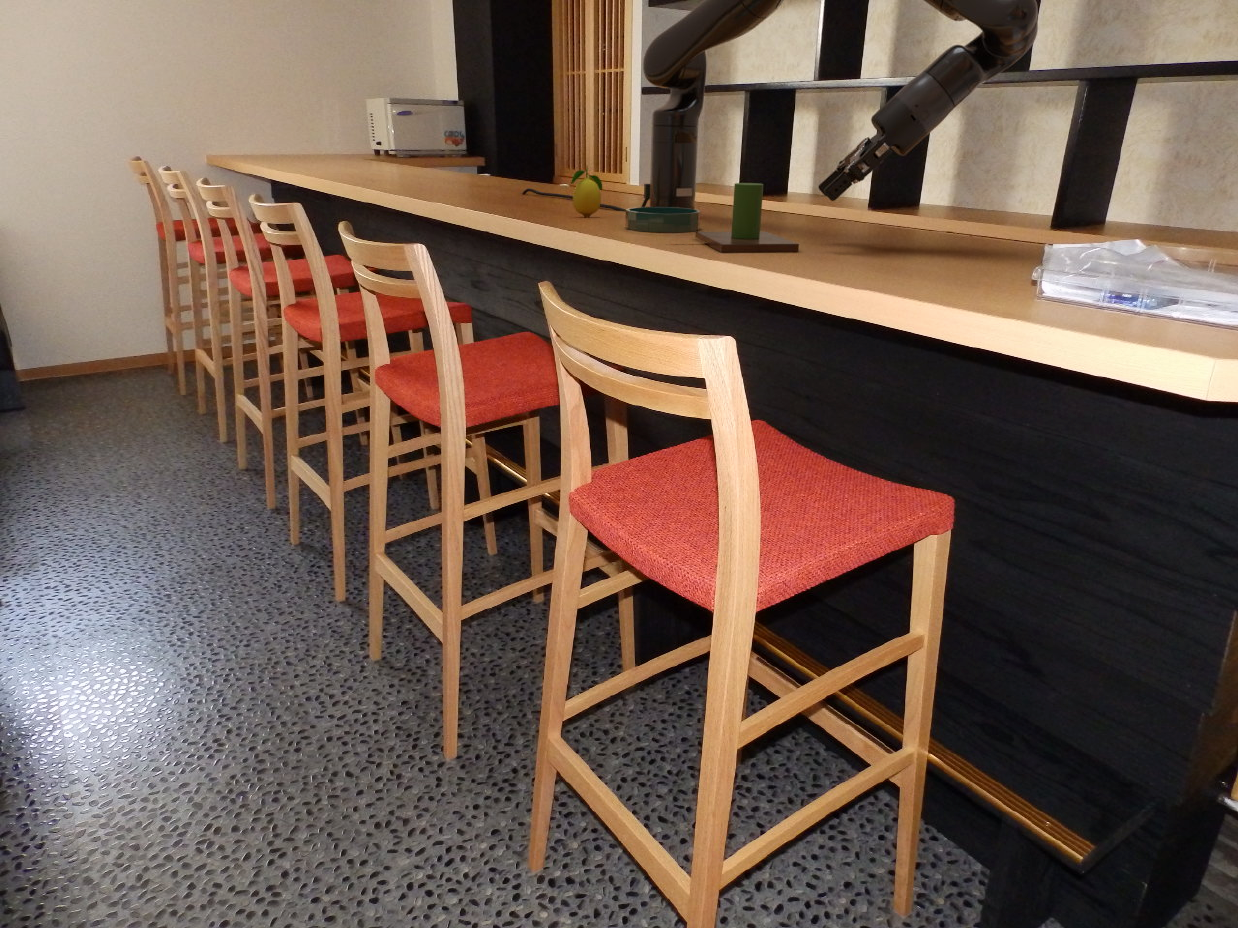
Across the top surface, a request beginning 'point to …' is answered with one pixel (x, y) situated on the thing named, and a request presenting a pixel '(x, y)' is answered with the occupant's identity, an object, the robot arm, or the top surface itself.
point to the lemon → (587, 193)
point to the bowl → (663, 219)
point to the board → (747, 242)
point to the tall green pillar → (747, 210)
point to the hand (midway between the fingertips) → (824, 194)
